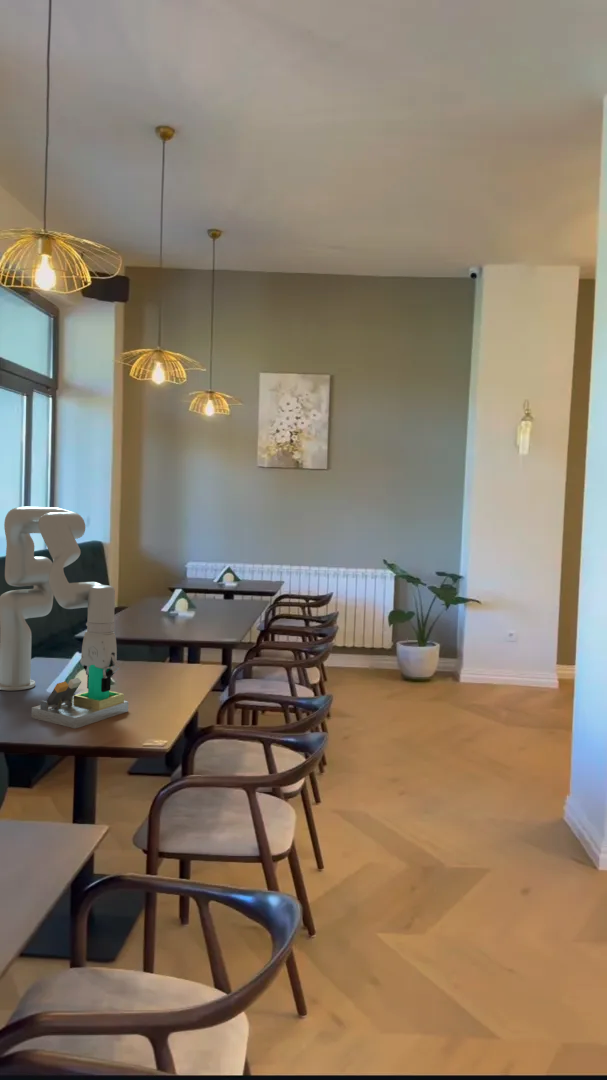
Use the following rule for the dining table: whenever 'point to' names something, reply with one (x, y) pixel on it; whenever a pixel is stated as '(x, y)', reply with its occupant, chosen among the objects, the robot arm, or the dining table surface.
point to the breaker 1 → (57, 693)
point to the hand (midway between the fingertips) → (98, 688)
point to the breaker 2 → (70, 690)
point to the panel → (81, 710)
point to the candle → (96, 683)
